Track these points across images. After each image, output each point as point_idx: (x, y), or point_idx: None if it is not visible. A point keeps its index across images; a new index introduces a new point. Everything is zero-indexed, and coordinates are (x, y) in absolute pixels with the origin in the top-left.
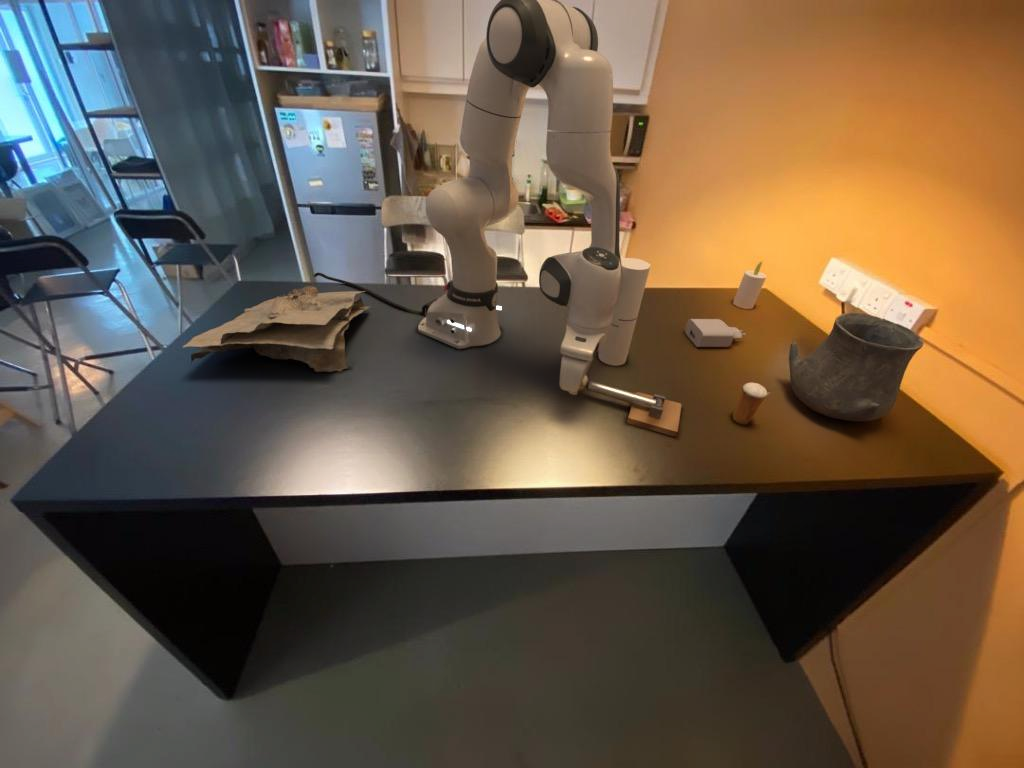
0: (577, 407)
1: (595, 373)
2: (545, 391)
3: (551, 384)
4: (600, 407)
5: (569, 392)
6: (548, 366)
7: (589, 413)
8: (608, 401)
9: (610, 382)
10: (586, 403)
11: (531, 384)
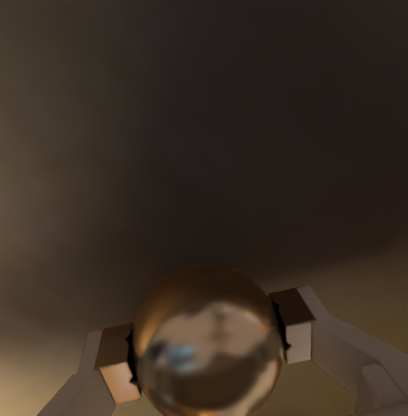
0: (104, 326)
1: (403, 270)
2: (101, 140)
3: (194, 136)
4: None
5: (88, 337)
6: (387, 5)
7: None
8: None
9: None
10: None
11: (99, 2)
